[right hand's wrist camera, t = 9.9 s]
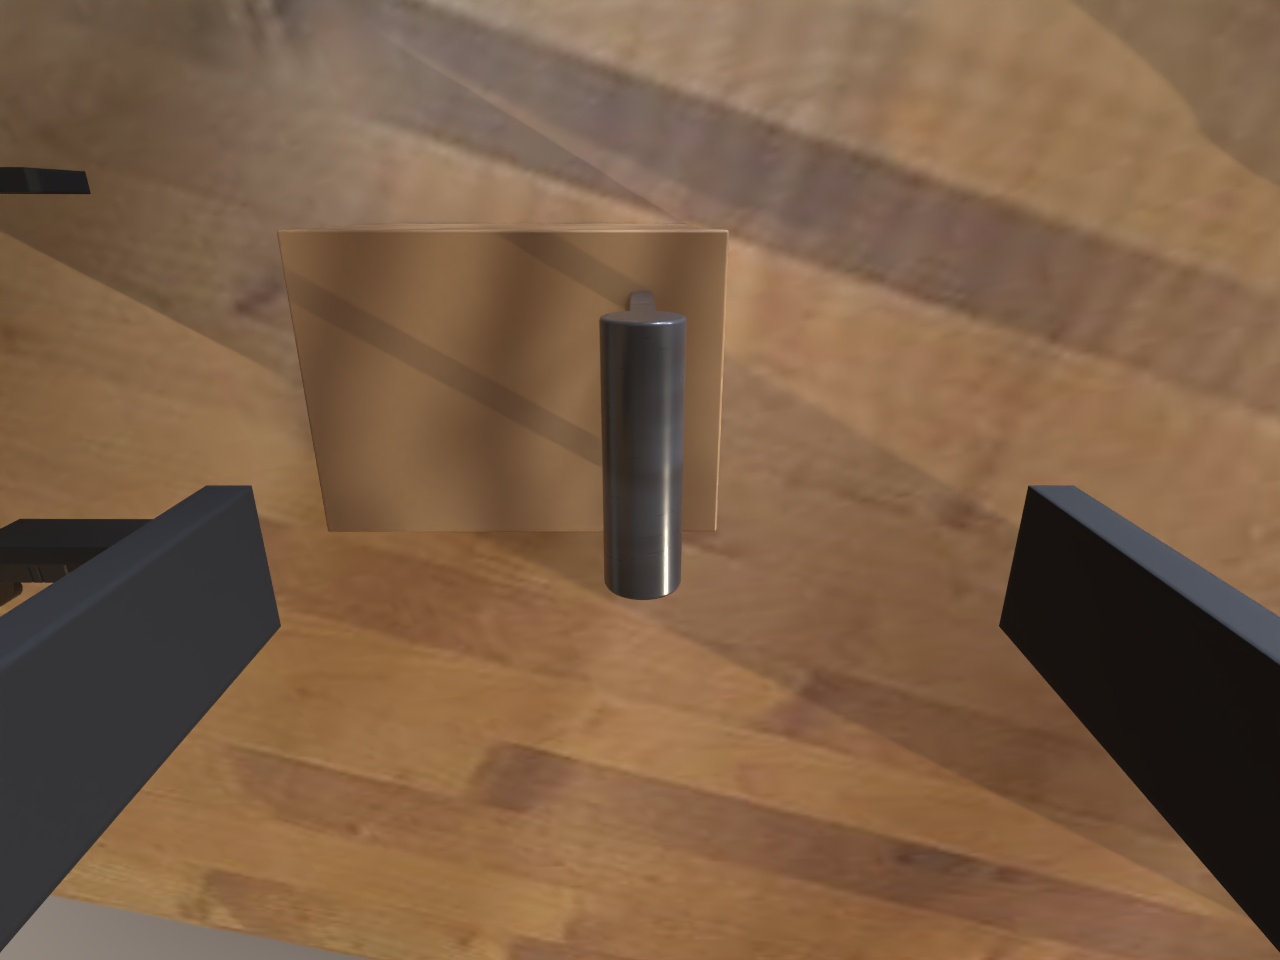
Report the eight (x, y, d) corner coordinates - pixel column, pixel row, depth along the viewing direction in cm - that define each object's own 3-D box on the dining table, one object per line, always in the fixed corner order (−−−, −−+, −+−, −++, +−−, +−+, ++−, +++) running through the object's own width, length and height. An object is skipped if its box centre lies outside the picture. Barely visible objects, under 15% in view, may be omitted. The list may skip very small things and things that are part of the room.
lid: (726, 229, 22) (773, 240, 15) (714, 522, 26) (746, 658, 18) (287, 229, 22) (99, 240, 15) (336, 523, 26) (206, 658, 18)
